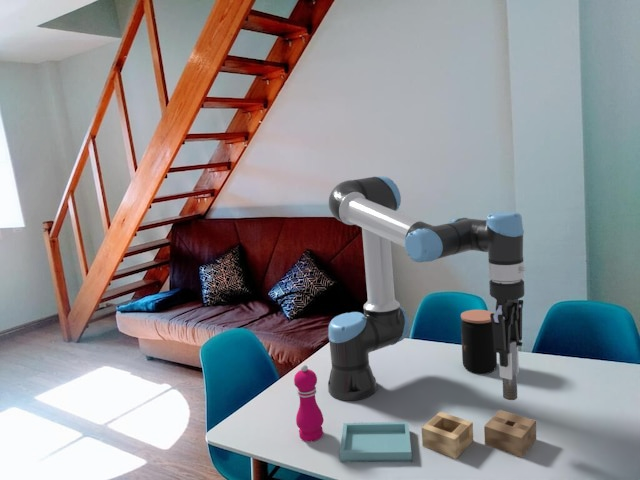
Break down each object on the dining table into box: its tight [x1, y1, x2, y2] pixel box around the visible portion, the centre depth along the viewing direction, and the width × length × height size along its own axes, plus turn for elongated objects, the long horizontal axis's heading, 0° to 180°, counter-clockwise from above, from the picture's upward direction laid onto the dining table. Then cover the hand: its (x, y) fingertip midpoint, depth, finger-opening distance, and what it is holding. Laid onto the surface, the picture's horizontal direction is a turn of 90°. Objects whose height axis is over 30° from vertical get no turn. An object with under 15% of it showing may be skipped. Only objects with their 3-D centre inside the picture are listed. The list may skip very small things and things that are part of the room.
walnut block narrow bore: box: [483, 409, 537, 458], centre depth 120 cm, size 9×9×5 cm
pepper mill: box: [293, 364, 324, 443], centre depth 130 cm, size 7×7×20 cm
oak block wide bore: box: [421, 411, 474, 460], centre depth 122 cm, size 9×9×5 cm
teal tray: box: [339, 421, 413, 463], centre depth 124 cm, size 17×13×2 cm
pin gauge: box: [502, 339, 518, 401], centre depth 117 cm, size 3×3×14 cm
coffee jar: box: [460, 309, 498, 375], centre depth 160 cm, size 11×11×18 cm
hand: (509, 374), depth 118 cm, fingers closed on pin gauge, 3 cm apart
